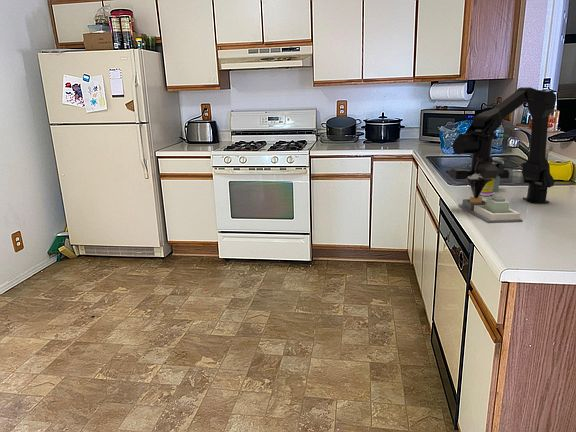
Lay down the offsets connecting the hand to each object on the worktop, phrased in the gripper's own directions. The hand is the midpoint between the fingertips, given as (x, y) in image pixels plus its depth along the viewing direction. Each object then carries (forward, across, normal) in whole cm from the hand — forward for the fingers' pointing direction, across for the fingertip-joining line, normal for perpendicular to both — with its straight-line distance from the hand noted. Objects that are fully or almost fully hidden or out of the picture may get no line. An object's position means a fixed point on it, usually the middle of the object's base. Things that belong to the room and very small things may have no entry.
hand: (476, 197), depth 154 cm
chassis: (+4, +2, -6) cm, 7 cm away
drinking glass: (+4, +20, +28) cm, 35 cm away
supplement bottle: (+4, +14, +20) cm, 25 cm away
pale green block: (+3, +2, -10) cm, 11 cm away
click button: (+3, 0, 0) cm, 3 cm away
